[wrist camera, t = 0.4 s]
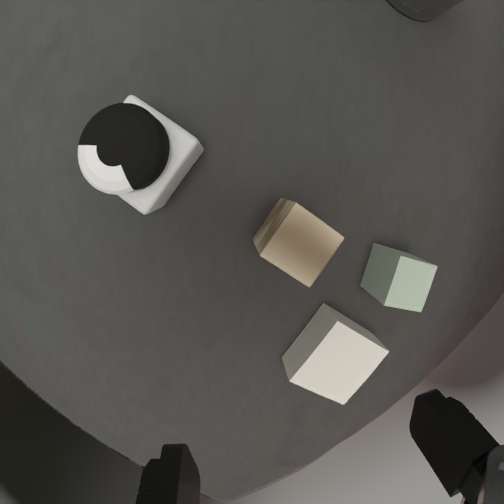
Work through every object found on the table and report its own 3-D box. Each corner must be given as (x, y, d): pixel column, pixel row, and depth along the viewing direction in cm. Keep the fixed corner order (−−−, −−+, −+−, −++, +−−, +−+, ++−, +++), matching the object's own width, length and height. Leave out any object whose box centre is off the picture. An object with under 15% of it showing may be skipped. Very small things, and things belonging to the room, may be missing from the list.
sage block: (373, 242, 33) (400, 255, 27) (407, 252, 33) (437, 266, 28) (359, 285, 34) (383, 305, 28) (394, 293, 34) (421, 312, 29)
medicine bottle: (149, 110, 28) (108, 74, 16) (205, 149, 29) (193, 130, 17) (108, 168, 29) (48, 165, 17) (162, 208, 30) (126, 226, 18)
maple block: (280, 197, 31) (296, 202, 24) (319, 225, 32) (344, 237, 25) (252, 239, 32) (259, 255, 25) (292, 265, 32) (309, 287, 26)
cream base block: (322, 301, 34) (337, 320, 29) (371, 332, 35) (389, 351, 31) (281, 356, 35) (289, 381, 30) (331, 380, 37) (343, 404, 32)
